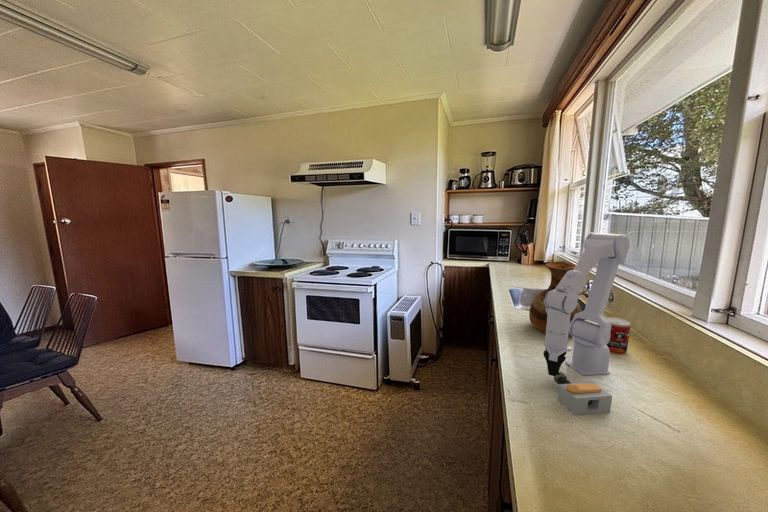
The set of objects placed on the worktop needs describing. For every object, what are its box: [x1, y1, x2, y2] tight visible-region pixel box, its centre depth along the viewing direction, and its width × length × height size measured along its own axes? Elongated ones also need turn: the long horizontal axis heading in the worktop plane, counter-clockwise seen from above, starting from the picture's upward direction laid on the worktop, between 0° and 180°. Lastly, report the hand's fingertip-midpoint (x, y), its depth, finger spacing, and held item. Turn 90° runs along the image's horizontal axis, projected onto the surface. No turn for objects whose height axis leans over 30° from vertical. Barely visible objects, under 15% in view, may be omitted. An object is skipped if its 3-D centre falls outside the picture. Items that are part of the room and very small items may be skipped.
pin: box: [553, 371, 593, 405], centre depth 80 cm, size 11×3×3 cm, turn 6°
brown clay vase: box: [528, 260, 583, 336], centre depth 124 cm, size 20×20×30 cm
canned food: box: [605, 316, 631, 355], centre depth 108 cm, size 8×8×11 cm
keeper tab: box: [567, 382, 603, 393], centre depth 76 cm, size 8×3×1 cm, turn 96°
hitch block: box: [556, 381, 613, 416], centre depth 77 cm, size 10×6×5 cm, turn 96°
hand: (553, 373), depth 88 cm, fingers closed
